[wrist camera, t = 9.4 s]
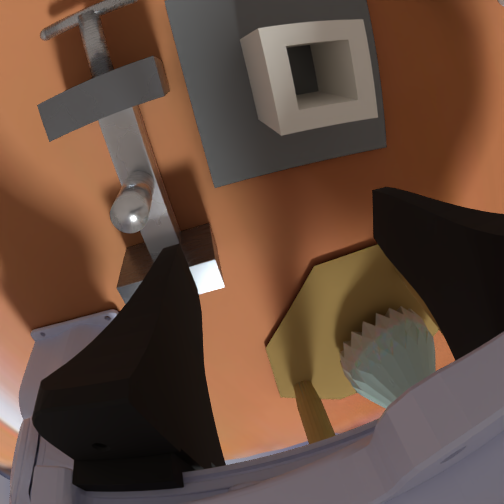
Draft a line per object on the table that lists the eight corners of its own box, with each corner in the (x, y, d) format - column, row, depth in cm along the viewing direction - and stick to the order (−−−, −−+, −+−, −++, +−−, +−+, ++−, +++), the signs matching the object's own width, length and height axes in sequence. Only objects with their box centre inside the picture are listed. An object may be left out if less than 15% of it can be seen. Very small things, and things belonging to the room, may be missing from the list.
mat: (214, 184, 20) (214, 188, 20) (165, 3, 14) (164, 1, 13) (382, 145, 21) (386, 147, 20) (356, -20, 14) (361, -21, 14)
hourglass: (408, 379, 39) (483, 520, 19) (252, 410, 35) (305, 606, 14) (483, 230, 27) (638, 396, 6) (283, 227, 23) (474, 618, 2)
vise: (217, 247, 23) (227, 303, 18) (137, 270, 22) (128, 330, 17) (144, -5, 13) (127, -35, 8) (51, 34, 13) (2, 26, 8)
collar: (258, 119, 18) (281, 135, 14) (239, 39, 15) (258, 28, 11) (335, 104, 18) (378, 117, 14) (322, 28, 15) (363, 19, 11)
